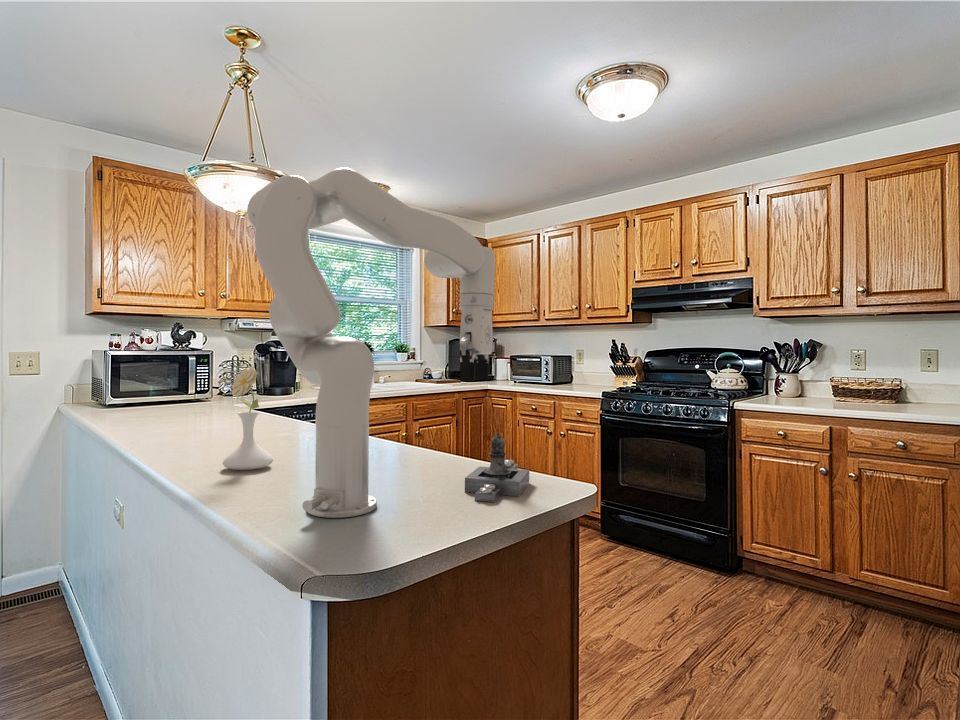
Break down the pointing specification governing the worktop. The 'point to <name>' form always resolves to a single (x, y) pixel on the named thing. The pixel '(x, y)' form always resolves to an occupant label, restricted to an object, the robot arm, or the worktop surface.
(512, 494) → the chain end near
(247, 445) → the flower in vase
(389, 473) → the worktop surface
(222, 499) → the worktop surface
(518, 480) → the frame
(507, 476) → the salt shaker
